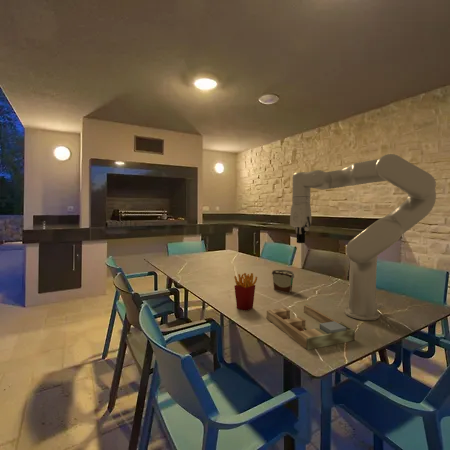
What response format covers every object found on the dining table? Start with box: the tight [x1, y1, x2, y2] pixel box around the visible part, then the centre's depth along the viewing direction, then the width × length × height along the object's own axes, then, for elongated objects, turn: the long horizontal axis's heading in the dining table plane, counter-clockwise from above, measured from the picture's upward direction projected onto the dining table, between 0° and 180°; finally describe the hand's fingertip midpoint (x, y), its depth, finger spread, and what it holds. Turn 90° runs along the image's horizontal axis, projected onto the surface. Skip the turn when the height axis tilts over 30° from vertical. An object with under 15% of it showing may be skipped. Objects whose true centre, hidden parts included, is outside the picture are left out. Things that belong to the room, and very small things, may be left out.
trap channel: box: [266, 304, 356, 351], centre depth 100 cm, size 18×26×4 cm
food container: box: [271, 269, 295, 294], centre depth 145 cm, size 12×6×10 cm, turn 47°
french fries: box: [233, 272, 258, 312], centre depth 121 cm, size 9×8×15 cm
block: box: [319, 320, 346, 334], centre depth 92 cm, size 6×6×4 cm
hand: (300, 242), depth 125 cm, fingers closed
